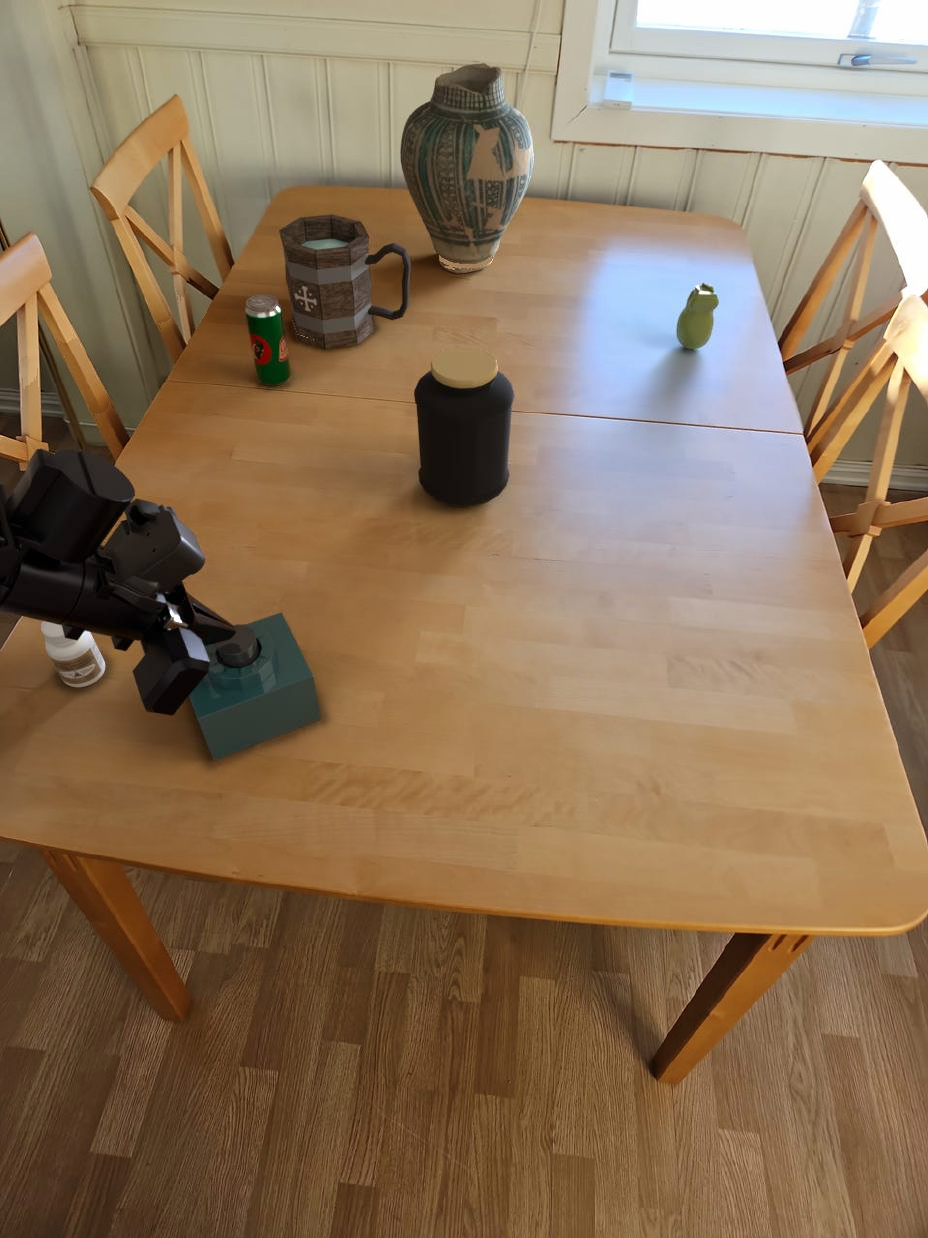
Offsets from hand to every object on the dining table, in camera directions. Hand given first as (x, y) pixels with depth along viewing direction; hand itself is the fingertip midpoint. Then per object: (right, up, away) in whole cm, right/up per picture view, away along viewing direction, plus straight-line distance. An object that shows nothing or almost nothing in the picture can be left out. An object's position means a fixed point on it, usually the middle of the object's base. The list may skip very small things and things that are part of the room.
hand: (232, 632), depth 75 cm
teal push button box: (0, -8, +9) cm, 12 cm away
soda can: (-7, +37, +48) cm, 61 cm away
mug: (+3, +48, +58) cm, 76 cm away
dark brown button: (0, -2, +2) cm, 3 cm away
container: (+21, +19, +33) cm, 43 cm away
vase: (+21, +66, +75) cm, 102 cm away
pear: (+57, +45, +57) cm, 93 cm away
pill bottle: (-19, -4, +11) cm, 22 cm away
